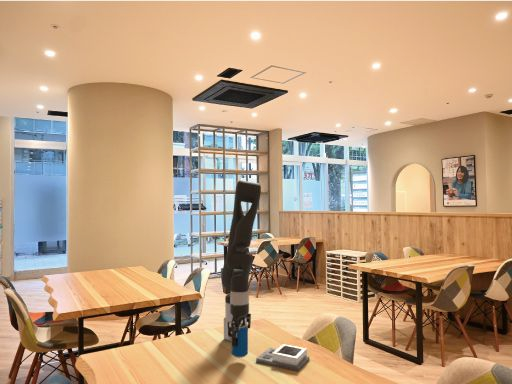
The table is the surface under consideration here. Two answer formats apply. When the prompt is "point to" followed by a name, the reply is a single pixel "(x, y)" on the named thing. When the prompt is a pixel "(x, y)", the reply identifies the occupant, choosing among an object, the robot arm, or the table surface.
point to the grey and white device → (285, 357)
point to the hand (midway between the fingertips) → (239, 343)
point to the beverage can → (241, 343)
